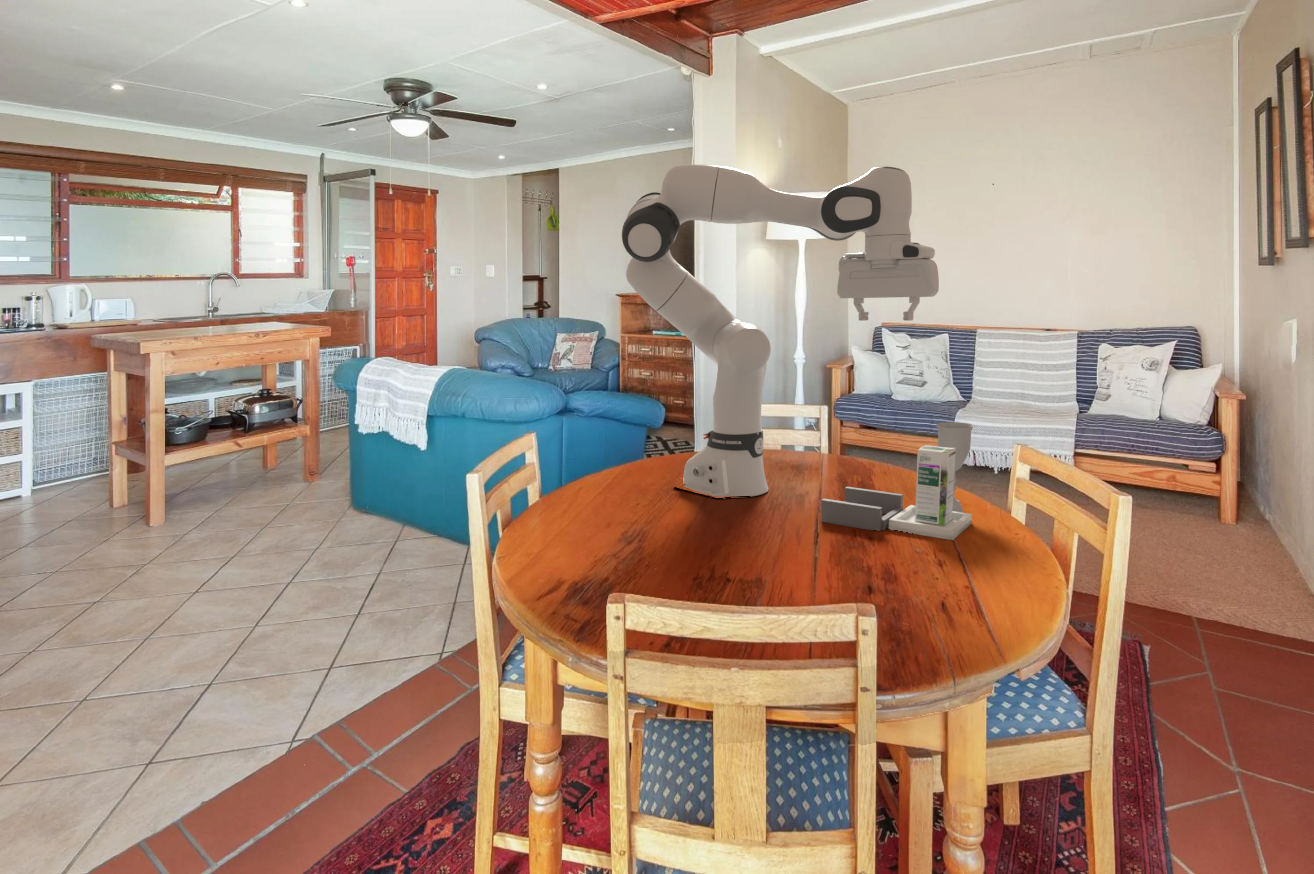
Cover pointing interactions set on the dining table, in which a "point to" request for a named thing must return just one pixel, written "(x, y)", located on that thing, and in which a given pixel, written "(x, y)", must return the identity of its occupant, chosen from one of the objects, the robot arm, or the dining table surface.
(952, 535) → the tray
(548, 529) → the dining table surface
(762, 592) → the dining table surface
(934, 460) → the syrup box
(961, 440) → the chalice
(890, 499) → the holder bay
